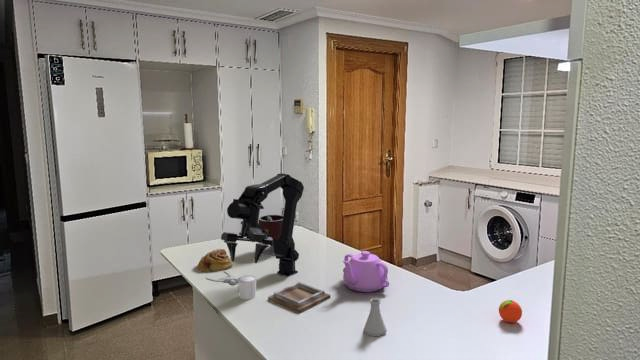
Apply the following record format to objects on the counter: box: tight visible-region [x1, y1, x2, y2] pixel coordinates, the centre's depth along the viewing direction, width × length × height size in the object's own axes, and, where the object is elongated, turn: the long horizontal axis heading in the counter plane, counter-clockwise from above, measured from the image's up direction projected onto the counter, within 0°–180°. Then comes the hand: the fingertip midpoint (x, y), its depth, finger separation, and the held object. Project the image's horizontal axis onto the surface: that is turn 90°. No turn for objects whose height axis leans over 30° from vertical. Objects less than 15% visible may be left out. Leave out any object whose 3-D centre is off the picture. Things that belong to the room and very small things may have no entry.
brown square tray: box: [267, 281, 331, 314], centre depth 157 cm, size 16×16×3 cm
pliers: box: [205, 270, 239, 286], centre depth 177 cm, size 10×2×15 cm
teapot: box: [342, 250, 390, 293], centre depth 166 cm, size 22×22×14 cm
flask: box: [363, 298, 387, 337], centre depth 133 cm, size 7×7×10 cm
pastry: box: [197, 248, 233, 273], centre depth 191 cm, size 13×15×8 cm
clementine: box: [498, 299, 523, 324], centre depth 138 cm, size 8×7×7 cm
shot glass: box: [237, 274, 257, 301], centre depth 159 cm, size 7×7×7 cm
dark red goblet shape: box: [258, 214, 283, 257], centre depth 208 cm, size 16×14×20 cm
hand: (244, 262), depth 158 cm, fingers open, 9 cm apart
